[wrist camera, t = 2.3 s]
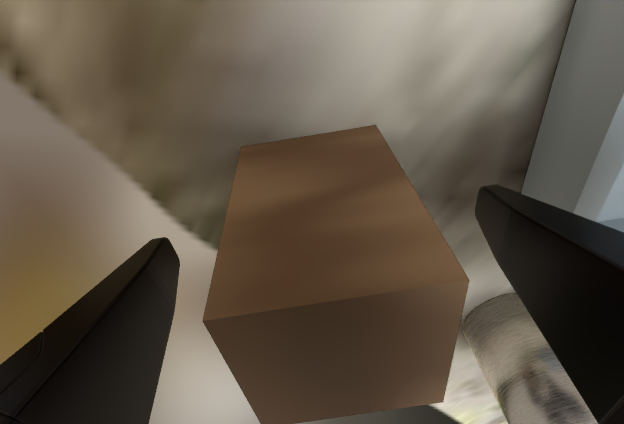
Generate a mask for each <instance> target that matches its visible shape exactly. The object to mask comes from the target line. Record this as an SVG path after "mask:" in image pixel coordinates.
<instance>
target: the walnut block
mask: <svg viewBox="0 0 624 424" xmlns="http://www.w3.org/2000/svg"><path fill="white" fill-rule="evenodd" d="M468 284H469V279H468V277H467V275H466V274H465V272H464V270H463V269H462V267H461V265H460V264H459V262H458V260H457V259H456V257H455V255H454V254H453V252H452V250H451V249H450V247H449V246H448V244H447V242H446V241H445V239H444V237H443V236H442V234H441V232H440V231H439V229H438V227H437V226H436V224H435V222H434V221H433V219H432V217H431V216H430V214H429V212H428V211H427V209H426V208H425V206H424V204H423V203H422V201H421V199H420V198H419V196H418V194H417V193H416V191H415V189H414V188H413V186H412V184H411V183H410V181H409V179H408V178H407V176H406V174H405V173H404V171H403V169H402V168H401V166H400V165H399V163H398V161H397V160H396V158H395V156H394V155H393V153H392V151H391V150H390V148H389V146H388V145H387V143H386V141H385V140H384V138H383V136H382V135H381V133H380V131H379V130H378V128H377V126H376V125H372V126H366V127H360V128H354V129H348V130H342V131H336V132H330V133H324V134H318V135H312V136H305V137H299V138H293V139H287V140H281V141H275V142H269V143H263V144H257V145H251V146H245V147H241V149H240V154H239V158H238V163H237V167H236V172H235V176H234V181H233V185H232V190H231V194H230V199H229V203H228V208H227V213H226V217H225V222H224V226H223V231H222V235H221V240H220V244H219V249H218V253H217V258H216V262H215V267H214V271H213V276H212V280H211V285H210V289H209V294H208V298H207V303H206V308H205V312H204V316H203V323H204V324H205V326H206V328H207V330H208V331H209V333H210V335H211V337H212V338H213V340H214V342H215V344H216V345H217V347H218V349H219V351H220V353H221V354H222V356H223V358H224V360H225V361H226V363H227V365H228V366H229V368H230V370H231V372H232V374H233V375H234V377H235V379H236V381H237V382H238V384H239V386H240V388H241V390H242V391H243V393H244V395H245V397H246V398H247V400H248V402H249V404H250V405H251V407H252V409H253V411H254V412H255V414H256V416H257V418H258V420H259V422H260V423H261V424H295V423H301V422H309V421H316V420H323V419H330V418H336V417H343V416H350V415H357V414H364V413H370V412H378V411H384V410H392V409H399V408H405V407H412V406H419V405H426V404H433V403H440V402H443V400H444V395H445V390H446V386H447V381H448V377H449V372H450V367H451V363H452V358H453V353H454V349H455V344H456V340H457V335H458V330H459V326H460V321H461V317H462V312H463V307H464V303H465V298H466V293H467V289H468Z"/></svg>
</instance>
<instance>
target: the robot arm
mask: <svg viewBox="0 0 624 424" xmlns="http://www.w3.org/2000/svg"><path fill="white" fill-rule="evenodd" d="M475 216H476V219H477V221H478V223H479V225H480V227H481V229H482V232H483V234H484V236H485V238H486V240H487V242H488V244H489V246H490V249H491V251H492V253H493V255H494V257H495V259H496V261H497V263H498V264H499V266H500V268H501V269H502V271H503V272H504V274H505V276H506V277H507V279H508V280H509V282H510V284H511V285H512V287H513V288H514V290H515V292H516V293H517V295H518V296H519V298H520V300H521V301H522V303H523V304H524V306H525V308H526V309H527V311H528V312H529V314H530V316H531V317H532V319H533V320H534V322H535V324H536V325H537V327H538V328H539V330H540V332H541V333H542V335H543V336H544V338H545V340H546V341H547V343H548V344H549V346H550V348H551V349H552V351H553V352H554V354H555V356H556V357H557V359H558V360H559V362H560V364H561V365H562V367H563V368H564V370H565V372H566V373H567V375H568V376H569V378H570V380H571V381H572V383H573V384H574V386H575V388H576V389H577V391H578V392H579V394H580V396H581V397H582V399H583V400H584V402H585V403H586V405H587V407H588V408H589V410H590V411H591V413H592V415H593V416H594V418H595V419H596V421H597V423H598V424H624V232H622V231H619V230H616V229H614V228H611V227H608V226H606V225H603V224H600V223H598V222H595V221H592V220H590V219H587V218H584V217H582V216H579V215H576V214H574V213H571V212H568V211H566V210H563V209H560V208H558V207H555V206H552V205H550V204H547V203H544V202H542V201H539V200H536V199H534V198H531V197H529V196H526V195H523V194H521V193H518V192H515V191H513V190H510V189H507V188H505V187H502V186H499V185H488V186H483V187H481V188H480V189H479V192H478V197H477V202H476V207H475ZM179 267H180V261H179V258H178V256H177V254H176V252H175V250H174V248H173V246H172V244H171V242H170V241H169V239H168V238H165V237H163V238H157V239H152V240H151V241H149V242H148V243H147V244H146V245H144V246H143V247H142V248H141V249H140V250H138V251H137V252H136V253H135V254H134V255H133V256H131V257H130V258H129V259H128V260H126V261H125V262H124V263H123V264H122V265H120V266H119V267H118V268H117V269H116V270H114V271H113V272H112V273H111V274H110V275H108V276H107V277H106V278H105V279H104V280H102V281H101V282H100V283H99V284H98V285H96V286H95V287H94V288H93V289H92V290H90V291H89V292H88V293H87V294H86V295H84V296H83V297H82V298H81V299H80V300H78V301H77V302H76V303H75V304H73V305H72V306H71V307H70V308H69V309H67V311H65V312H64V313H63V314H62V315H60V316H59V317H58V318H57V319H55V320H54V321H53V322H52V323H51V324H49V325H48V326H47V327H46V328H45V329H44V330H43V332H40V333H39V334H37V335H36V336H35V337H34V338H33V339H31V340H30V341H29V342H28V343H27V344H25V345H24V346H23V347H22V348H20V349H19V350H18V351H17V352H16V353H15V354H13V355H12V356H11V357H9V358H8V359H7V360H6V361H4V362H3V363H2V364H1V365H0V424H148V423H149V419H150V415H151V411H152V406H153V401H154V398H155V393H156V389H157V385H158V381H159V376H160V372H161V368H162V363H163V359H164V355H165V350H166V346H167V342H168V338H169V333H170V329H171V325H172V320H173V315H174V310H175V303H176V294H177V285H178V276H179Z"/></svg>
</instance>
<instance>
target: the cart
mask: <svg viewBox="0 0 624 424" xmlns="http://www.w3.org/2000/svg"><path fill="white" fill-rule="evenodd" d="M521 194H523V195H526V196H529V197H531V198H534V199H536V200H539V201H542V202H544V203H547V204H550V205H552V206H555V207H558V208H560V209H563V210H566V211H568V212H571V213H574V214H576V215H579V216H582V217H584V218H587V219H590V220H592V221H595V222H598V223H600V224H603V225H606V226H608V227H611V228H614V229H616V230H619V231H622V232H624V0H576V3H575V7H574V10H573V14H572V17H571V21H570V24H569V28H568V31H567V35H566V38H565V41H564V45H563V48H562V52H561V55H560V59H559V62H558V66H557V69H556V73H555V76H554V80H553V83H552V87H551V90H550V94H549V97H548V101H547V104H546V108H545V111H544V114H543V118H542V121H541V125H540V128H539V132H538V135H537V139H536V142H535V146H534V149H533V153H532V156H531V160H530V163H529V167H528V170H527V174H526V177H525V181H524V184H523V188H522V191H521Z"/></svg>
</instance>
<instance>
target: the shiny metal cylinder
mask: <svg viewBox="0 0 624 424" xmlns="http://www.w3.org/2000/svg"><path fill="white" fill-rule="evenodd" d="M462 331H463V334H464V336H465V338H466V340H467V342H468V344H469V346H470V348H471V350H472V352H473V354H474V356H475V358H476V360H477V362H478V364H479V366H480V368H481V370H482V372H483V374H484V376H485V378H486V380H487V382H488V384H489V386H490V388H491V390H492V392H493V394H494V396H495V398H496V400H497V402H498V404H499V406H500V408H501V410H502V412H503V414H504V416H505V418H506V420H507V422H508V424H598V423H597V421H596V419H595V418H594V416H593V415H592V413H591V411H590V410H589V408H588V407H587V405H586V403H585V402H584V400H583V399H582V397H581V396H580V394H579V392H578V391H577V389H576V388H575V386H574V384H573V383H572V381H571V380H570V378H569V376H568V375H567V373H566V372H565V370H564V368H563V367H562V365H561V364H560V362H559V360H558V359H557V357H556V356H555V354H554V352H553V351H552V349H551V348H550V346H549V344H548V343H547V341H546V340H545V338H544V336H543V335H542V333H541V332H540V330H539V328H538V327H537V325H536V324H535V322H534V320H533V319H532V317H531V316H530V314H529V312H528V311H527V309H526V308H525V306H524V304H523V303H522V301H521V300H520V298H519V296H518V295H517V293H510V294H505V295H501V296H498V297H496V298H493V299H491V300H489V301H487V302H485V303H483V304H481V305H480V306H478V307H477V308H475V309H474V310H473V311H472V312H471V313H470V314H469V315H468V316H467V318H466V319H465V321H464V323H463V326H462Z"/></svg>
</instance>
